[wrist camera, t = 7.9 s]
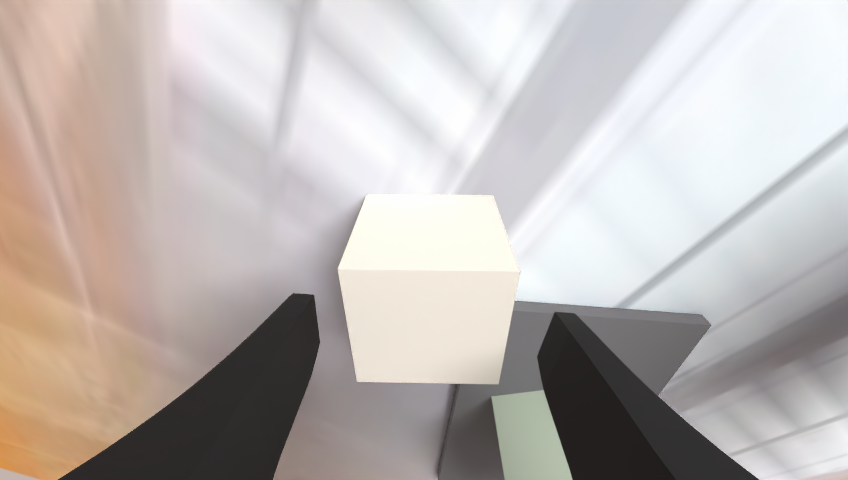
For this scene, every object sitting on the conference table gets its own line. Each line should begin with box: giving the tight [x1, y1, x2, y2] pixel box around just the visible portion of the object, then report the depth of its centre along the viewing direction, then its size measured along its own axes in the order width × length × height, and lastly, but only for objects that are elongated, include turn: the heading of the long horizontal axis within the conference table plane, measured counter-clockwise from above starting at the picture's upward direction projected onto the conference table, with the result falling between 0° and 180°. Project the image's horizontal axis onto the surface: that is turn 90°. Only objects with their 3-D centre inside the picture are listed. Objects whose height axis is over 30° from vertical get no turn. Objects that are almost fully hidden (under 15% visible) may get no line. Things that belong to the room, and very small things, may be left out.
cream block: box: [338, 194, 520, 384], centre depth 11 cm, size 4×4×4 cm
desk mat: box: [438, 301, 711, 480], centre depth 19 cm, size 10×16×1 cm, turn 175°
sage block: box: [491, 390, 573, 480], centre depth 16 cm, size 5×5×5 cm
